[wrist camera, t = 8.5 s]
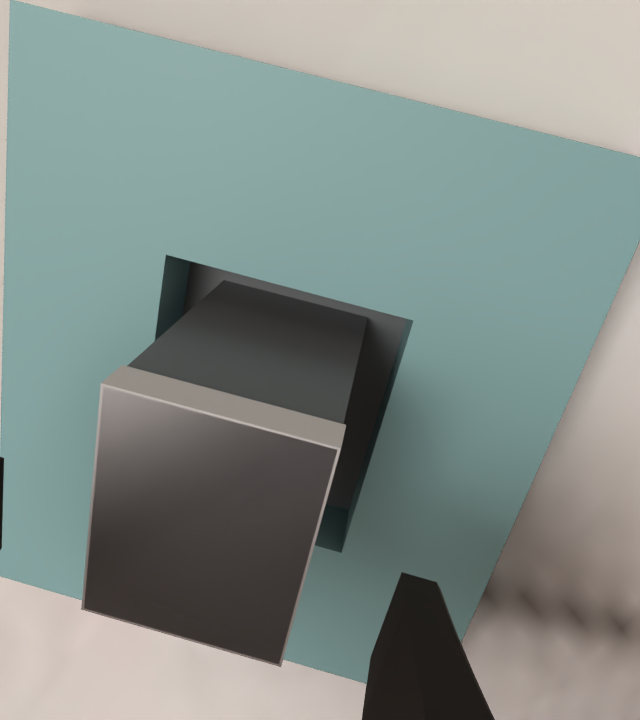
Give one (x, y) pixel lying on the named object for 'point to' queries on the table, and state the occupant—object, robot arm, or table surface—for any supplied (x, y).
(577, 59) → the table surface
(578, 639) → the table surface
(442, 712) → the robot arm
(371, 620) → the outlet block
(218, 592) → the plug
